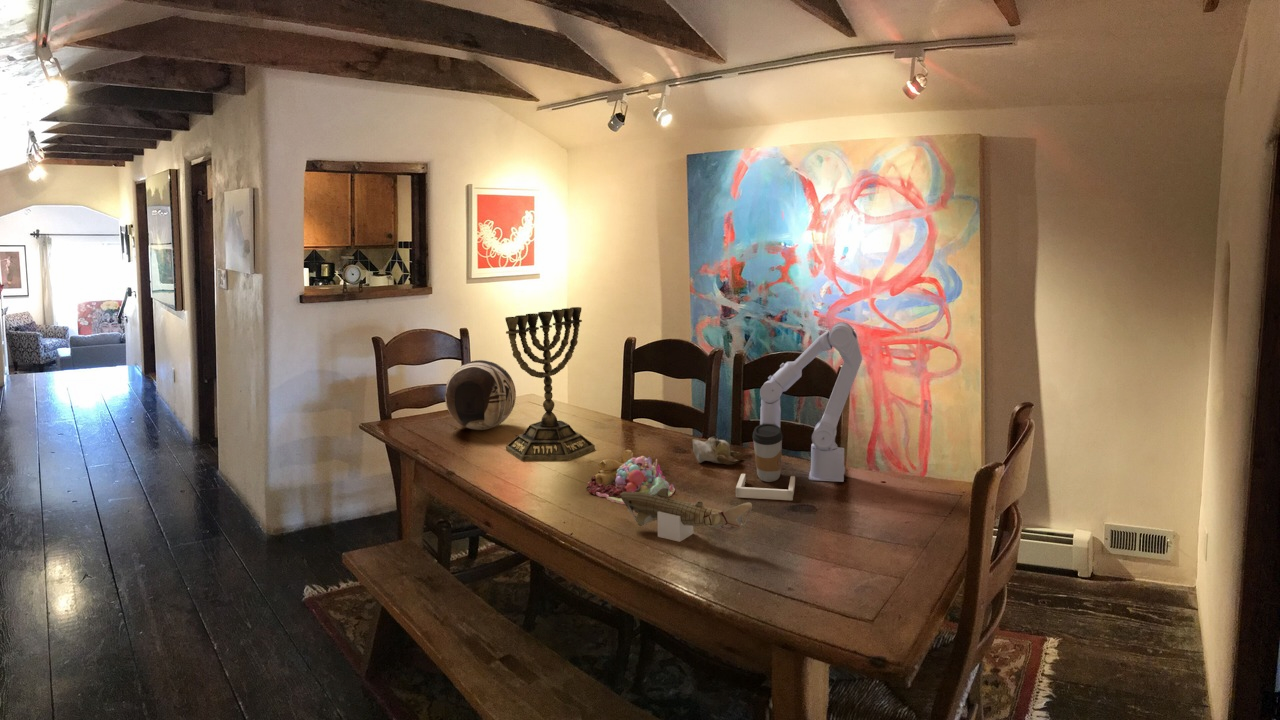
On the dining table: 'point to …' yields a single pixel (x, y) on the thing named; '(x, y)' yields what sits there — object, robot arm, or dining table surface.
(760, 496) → the dock
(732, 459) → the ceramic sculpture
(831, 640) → the dining table surface
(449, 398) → the sphere
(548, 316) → the menorah
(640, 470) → the candy landscape model
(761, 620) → the dining table surface
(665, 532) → the wood carving
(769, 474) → the coffee cup
